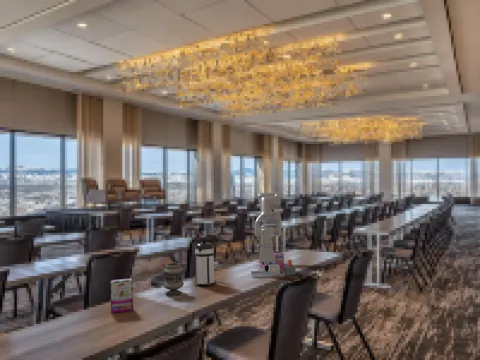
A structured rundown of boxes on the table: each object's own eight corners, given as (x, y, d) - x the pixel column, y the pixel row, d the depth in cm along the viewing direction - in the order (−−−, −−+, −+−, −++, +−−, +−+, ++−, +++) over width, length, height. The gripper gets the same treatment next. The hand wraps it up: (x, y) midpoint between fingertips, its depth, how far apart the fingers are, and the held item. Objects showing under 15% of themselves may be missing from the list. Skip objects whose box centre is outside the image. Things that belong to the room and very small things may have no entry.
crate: (269, 274, 285) (269, 264, 286) (278, 273, 286) (278, 264, 286) (270, 276, 279) (270, 266, 279) (280, 275, 279) (279, 266, 279)
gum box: (259, 267, 312) (259, 249, 312) (268, 265, 315) (267, 248, 316) (275, 272, 290) (274, 254, 291) (284, 271, 294) (284, 253, 294)
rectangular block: (251, 274, 287) (251, 270, 287) (282, 273, 288) (282, 269, 288) (252, 277, 277) (252, 273, 277) (285, 276, 278) (284, 272, 278)
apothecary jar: (159, 295, 237) (159, 265, 237) (171, 290, 248) (170, 261, 248) (176, 297, 232) (176, 266, 232) (187, 292, 243) (187, 262, 243)
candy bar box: (133, 308, 212) (132, 277, 212) (133, 311, 207) (132, 280, 207) (111, 310, 209) (110, 279, 209) (110, 313, 204) (110, 281, 204)
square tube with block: (283, 271, 294) (283, 263, 294) (292, 271, 294) (292, 263, 294) (285, 275, 282) (285, 266, 282) (295, 274, 282) (295, 266, 282)
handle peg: (287, 273, 287) (286, 259, 287) (291, 273, 287) (291, 259, 287) (287, 274, 284) (287, 260, 284) (292, 274, 284) (291, 260, 284)
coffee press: (220, 285, 256) (220, 239, 257) (197, 288, 250) (196, 241, 251) (212, 279, 272) (212, 236, 273) (190, 282, 267) (189, 237, 267)
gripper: (256, 246, 278) (256, 272, 278) (277, 246, 279) (277, 272, 279) (255, 245, 286) (255, 270, 286) (276, 244, 286) (276, 269, 286)
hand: (266, 271), depth 282 cm, fingers closed
